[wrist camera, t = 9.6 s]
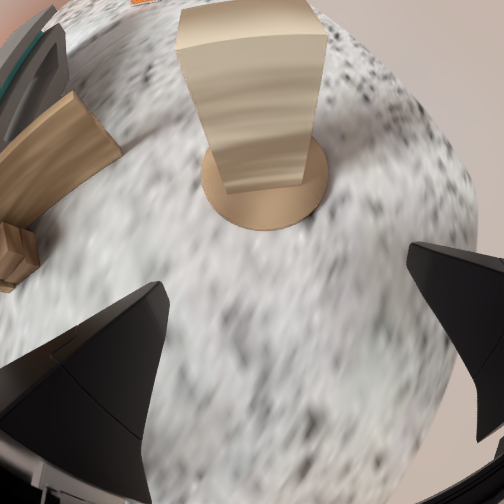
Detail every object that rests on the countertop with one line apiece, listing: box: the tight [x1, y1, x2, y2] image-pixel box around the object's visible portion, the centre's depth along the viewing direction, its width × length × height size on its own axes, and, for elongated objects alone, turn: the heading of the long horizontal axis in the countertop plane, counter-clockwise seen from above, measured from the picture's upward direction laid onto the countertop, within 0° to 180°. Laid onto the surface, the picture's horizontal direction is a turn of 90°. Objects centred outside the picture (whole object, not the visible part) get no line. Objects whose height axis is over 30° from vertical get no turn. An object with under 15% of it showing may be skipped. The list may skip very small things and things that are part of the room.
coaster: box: [201, 136, 328, 231], centre depth 19 cm, size 9×9×1 cm
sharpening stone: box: [0, 5, 69, 153], centre depth 19 cm, size 25×8×11 cm, turn 5°
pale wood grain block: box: [175, 0, 328, 195], centre depth 13 cm, size 4×5×12 cm
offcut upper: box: [0, 221, 25, 280], centre depth 17 cm, size 3×4×2 cm
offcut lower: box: [4, 228, 40, 284], centre depth 19 cm, size 4×4×2 cm
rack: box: [0, 90, 123, 293], centre depth 16 cm, size 6×17×8 cm, turn 117°
